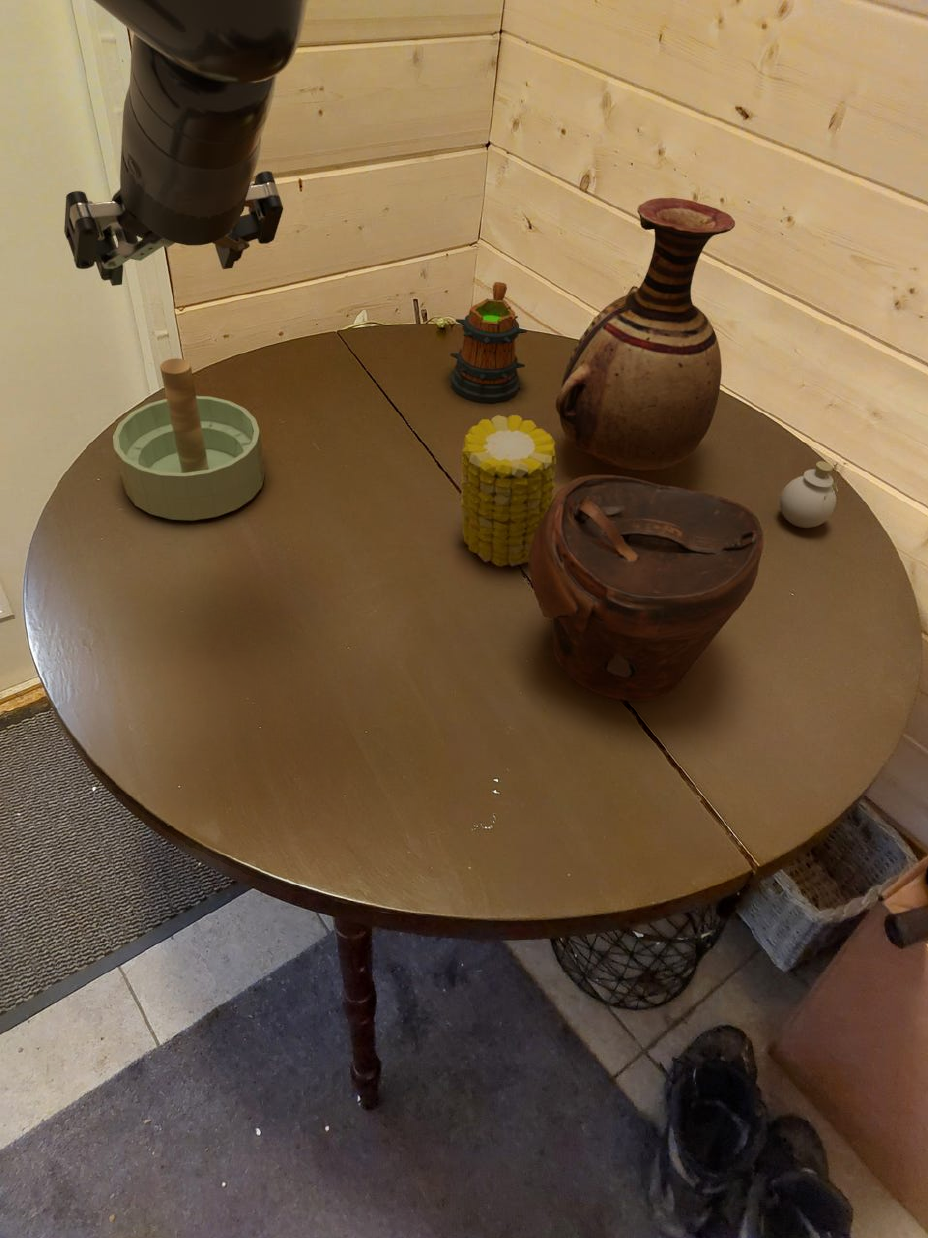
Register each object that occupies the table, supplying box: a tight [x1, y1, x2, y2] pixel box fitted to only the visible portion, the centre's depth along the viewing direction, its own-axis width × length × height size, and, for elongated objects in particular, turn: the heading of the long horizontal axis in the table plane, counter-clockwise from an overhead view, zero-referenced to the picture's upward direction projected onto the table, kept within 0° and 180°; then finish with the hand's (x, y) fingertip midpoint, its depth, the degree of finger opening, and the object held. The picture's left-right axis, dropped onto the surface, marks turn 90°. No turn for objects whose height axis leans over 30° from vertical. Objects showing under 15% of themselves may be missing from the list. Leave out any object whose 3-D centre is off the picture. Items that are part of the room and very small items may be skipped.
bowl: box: [112, 395, 266, 521], centre depth 92 cm, size 15×15×6 cm
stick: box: [159, 358, 209, 473], centre depth 89 cm, size 3×3×14 cm
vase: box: [555, 197, 736, 471], centre depth 93 cm, size 21×18×30 cm
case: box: [528, 474, 764, 702], centre depth 75 cm, size 18×20×18 cm
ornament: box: [779, 460, 839, 529], centre depth 94 cm, size 6×7×10 cm
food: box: [460, 414, 557, 568], centre depth 86 cm, size 15×12×10 cm
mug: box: [449, 281, 528, 404], centre depth 111 cm, size 13×10×12 cm
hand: (168, 264), depth 64 cm, fingers open, 8 cm apart
